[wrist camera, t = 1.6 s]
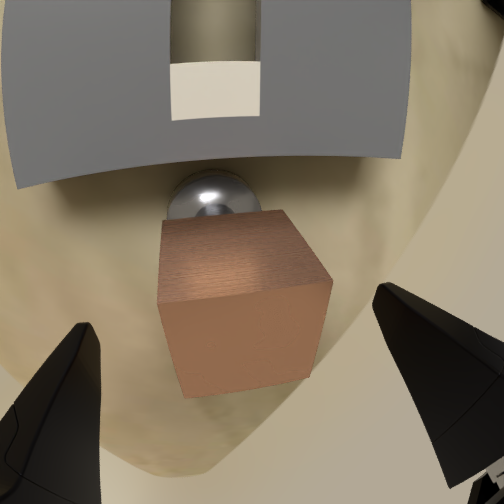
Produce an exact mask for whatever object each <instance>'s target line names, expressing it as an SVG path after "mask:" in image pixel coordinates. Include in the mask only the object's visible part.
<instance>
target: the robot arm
mask: <svg viewBox="0 0 504 504" xmlns="http://www.w3.org/2000/svg"><path fill="white" fill-rule="evenodd" d="M483 2H484V4H485V5H486V6H488V7H489V8H490V9H492V10H493V11H494V12H495V13H497V14H498V15H499V16H500V17H502V18H503V19H504V0H483ZM372 307H373V311H374V313H375V316H376V318H377V320H378V323H379V326H380V328H381V331H382V334H383V336H384V339H385V341H386V344H387V346H388V348H389V350H390V352H391V354H392V356H393V358H394V361H395V363H396V365H397V367H398V369H399V371H400V373H401V375H402V377H403V379H404V381H405V383H406V385H407V388H408V390H409V392H410V394H411V396H412V399H413V401H414V403H415V405H416V407H417V410H418V412H419V414H420V416H421V419H422V421H423V423H424V426H425V428H426V430H427V433H428V435H429V437H430V440H431V442H432V445H433V448H434V450H435V453H436V455H437V458H438V461H439V463H440V466H441V468H442V471H443V474H444V477H445V479H446V482H447V485H448V487H449V488H450V489H451V488H452V487H454V486H456V485H458V484H460V483H462V482H464V481H465V480H467V479H469V478H470V477H472V476H474V475H475V474H477V473H479V472H480V471H482V470H484V469H486V472H485V473H484V474H483V475H482V476H480V477H479V478H478V479H477V480H476V481H474V482H473V485H472V489H471V493H470V497H469V500H468V504H504V342H502V341H500V340H498V339H496V338H494V337H492V336H490V335H488V334H486V333H485V332H483V331H481V330H479V329H477V328H476V327H473V326H472V325H470V324H468V323H466V322H465V321H463V320H461V319H459V318H457V317H455V316H453V315H452V314H450V313H448V312H446V311H444V310H442V309H441V308H439V307H437V306H435V305H433V304H431V303H429V302H427V301H425V300H424V299H422V298H420V297H418V296H416V295H414V294H412V293H410V292H408V291H406V290H405V289H403V288H401V287H399V286H397V285H395V284H393V283H390V282H387V283H382V284H379V285H378V287H377V290H376V293H375V296H374V299H373V303H372ZM100 352H101V349H100V342H99V339H98V337H97V335H96V333H95V331H94V329H93V327H92V325H91V324H90V323H89V322H82V323H77V324H76V325H75V326H74V327H73V328H72V329H71V331H70V332H69V333H68V334H67V335H66V336H65V338H64V339H63V340H62V341H61V342H60V344H59V345H58V346H57V347H56V348H55V350H54V351H53V352H52V353H51V355H50V356H49V357H48V358H47V360H46V361H45V362H44V363H43V365H42V366H41V367H40V368H39V370H38V371H37V372H36V373H35V375H34V376H33V377H32V379H31V380H30V381H29V383H28V384H27V385H26V387H25V388H24V389H23V391H22V392H21V393H20V395H19V396H18V398H17V399H16V400H15V401H14V404H13V405H11V407H10V408H9V410H8V411H7V413H6V414H5V416H4V417H3V418H2V419H1V421H0V504H101V489H100V464H99V463H100V462H99V435H100V408H101V356H100Z"/></svg>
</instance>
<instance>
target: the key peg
mask: <svg viewBox="0 0 504 504" xmlns="http://www.w3.org/2000/svg"><path fill="white" fill-rule="evenodd" d="M332 285H333V279H332V278H331V276H330V275H329V274H328V272H327V271H326V269H325V268H324V266H323V265H322V264H321V262H320V261H319V259H318V258H317V256H316V255H315V254H314V252H313V251H312V249H311V248H310V247H309V245H308V244H307V242H306V241H305V240H304V238H303V237H302V236H301V234H300V233H299V231H298V230H297V229H296V227H295V226H294V225H293V223H292V222H291V220H290V219H289V218H288V216H287V215H286V214H285V212H284V211H283V210H270V211H262V210H261V206H260V203H259V201H258V199H257V198H256V196H255V194H254V193H253V191H252V190H251V188H250V187H249V185H248V184H247V183H246V182H245V181H244V180H243V179H241V178H240V177H239V176H237V175H235V174H233V173H230V172H228V171H224V170H205V171H201V172H198V173H195V174H193V175H191V176H189V177H187V178H186V179H185V180H183V181H182V182H181V183H180V184H179V185H178V186H177V188H176V189H175V190H174V192H173V193H172V195H171V198H170V200H169V204H168V210H167V220H163V222H162V233H161V245H160V258H159V274H158V295H157V305H158V309H159V313H160V317H161V321H162V325H163V328H164V332H165V336H166V339H167V343H168V346H169V350H170V353H171V357H172V360H173V363H174V367H175V370H176V373H177V376H178V379H179V383H180V386H181V389H182V392H183V395H184V398H193V397H202V396H210V395H218V394H225V393H232V392H238V391H244V390H250V389H256V388H261V387H267V386H272V385H277V384H282V383H286V382H291V381H296V380H300V379H304V378H309V377H310V373H311V370H312V366H313V363H314V359H315V355H316V352H317V348H318V344H319V340H320V336H321V332H322V328H323V324H324V320H325V316H326V311H327V307H328V303H329V298H330V294H331V289H332Z"/></svg>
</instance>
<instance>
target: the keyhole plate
mask: <svg viewBox="0 0 504 504" xmlns="http://www.w3.org/2000/svg"><path fill="white" fill-rule="evenodd" d="M171 2H172V0H5V8H4V17H3V29H2V51H1V71H2V94H3V107H4V117H5V125H6V133H7V139H8V146H9V152H10V157H11V162H12V167H13V172H14V177H15V181H16V185H17V189H21V188H25V187H29V186H34V185H38V184H42V183H47V182H52V181H56V180H61V179H66V178H71V177H77V176H82V175H88V174H93V173H99V172H105V171H112V170H118V169H125V168H132V167H139V166H147V165H155V164H164V163H173V162H183V161H194V160H206V159H220V158H237V157H259V156H355V157H377V158H392V159H401V153H402V146H403V140H404V132H405V124H406V116H407V106H408V96H409V83H410V67H411V0H256V29H255V61H211V62H190V63H177V64H171Z"/></svg>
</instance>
